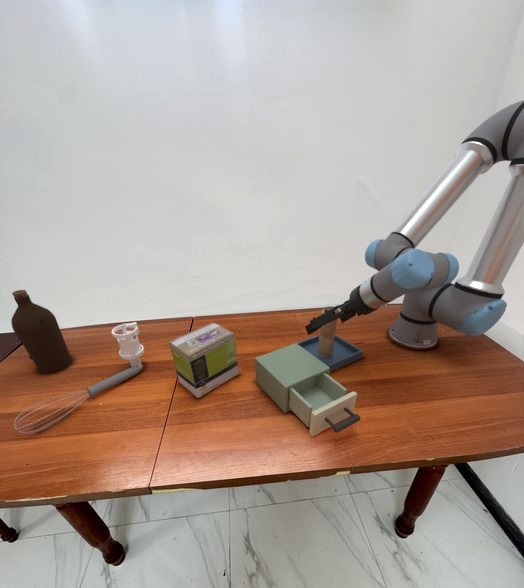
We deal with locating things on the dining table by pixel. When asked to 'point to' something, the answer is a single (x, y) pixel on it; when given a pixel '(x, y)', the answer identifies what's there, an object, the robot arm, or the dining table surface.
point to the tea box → (205, 358)
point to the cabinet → (286, 371)
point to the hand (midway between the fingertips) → (324, 324)
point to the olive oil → (40, 334)
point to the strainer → (129, 344)
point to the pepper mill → (327, 337)
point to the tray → (341, 352)
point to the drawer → (323, 404)
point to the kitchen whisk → (91, 392)
